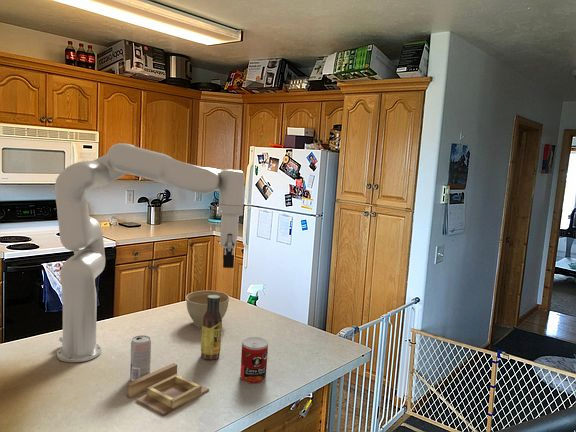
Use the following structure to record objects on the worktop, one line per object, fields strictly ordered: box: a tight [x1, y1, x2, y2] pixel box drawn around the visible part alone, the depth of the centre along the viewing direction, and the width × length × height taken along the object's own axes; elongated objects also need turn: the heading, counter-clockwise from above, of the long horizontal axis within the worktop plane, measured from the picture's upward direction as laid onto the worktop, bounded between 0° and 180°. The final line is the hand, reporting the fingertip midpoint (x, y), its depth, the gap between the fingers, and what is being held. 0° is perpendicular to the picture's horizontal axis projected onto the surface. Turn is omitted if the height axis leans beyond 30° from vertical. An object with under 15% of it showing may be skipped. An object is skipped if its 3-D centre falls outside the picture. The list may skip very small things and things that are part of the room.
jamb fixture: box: [126, 362, 210, 417], centre depth 121 cm, size 14×16×4 cm
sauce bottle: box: [200, 295, 223, 361], centre depth 144 cm, size 6×6×20 cm
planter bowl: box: [185, 290, 230, 329], centre depth 171 cm, size 16×16×11 cm
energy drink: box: [129, 335, 152, 382], centre depth 127 cm, size 5×5×12 cm
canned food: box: [240, 336, 269, 385], centre depth 133 cm, size 8×8×11 cm
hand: (228, 263), depth 142 cm, fingers open, 9 cm apart
